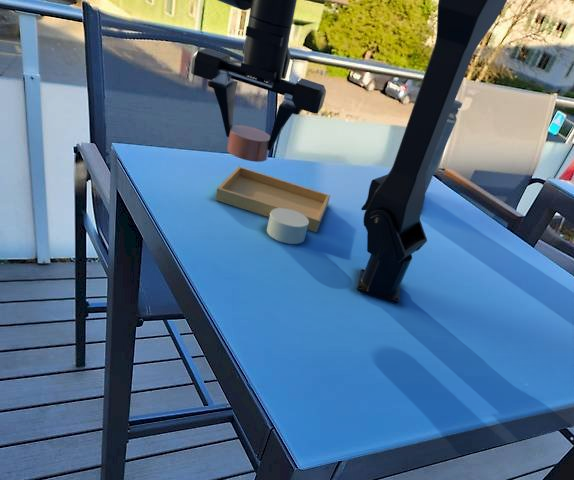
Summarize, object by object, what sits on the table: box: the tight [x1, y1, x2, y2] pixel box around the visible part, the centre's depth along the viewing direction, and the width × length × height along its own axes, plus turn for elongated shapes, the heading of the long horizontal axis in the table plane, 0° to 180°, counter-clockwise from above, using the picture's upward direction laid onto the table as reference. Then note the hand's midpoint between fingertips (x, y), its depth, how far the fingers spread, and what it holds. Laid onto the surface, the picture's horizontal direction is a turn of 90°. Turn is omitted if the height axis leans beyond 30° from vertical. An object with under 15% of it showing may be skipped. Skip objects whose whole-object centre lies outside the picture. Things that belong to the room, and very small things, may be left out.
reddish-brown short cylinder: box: [226, 124, 271, 163], centre depth 75 cm, size 6×6×3 cm
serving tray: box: [215, 166, 331, 233], centre depth 88 cm, size 13×18×2 cm
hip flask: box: [425, 99, 463, 194], centre depth 101 cm, size 16×4×20 cm, turn 170°
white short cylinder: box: [266, 208, 309, 245], centre depth 79 cm, size 6×6×3 cm
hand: (249, 143), depth 75 cm, fingers closed on reddish-brown short cylinder, 6 cm apart
